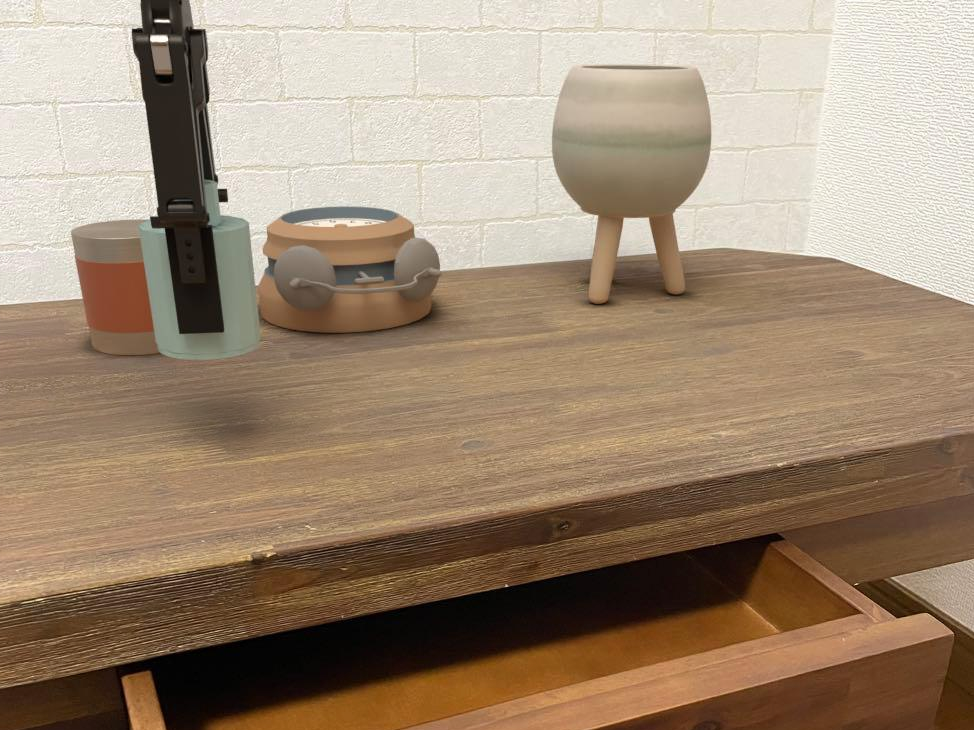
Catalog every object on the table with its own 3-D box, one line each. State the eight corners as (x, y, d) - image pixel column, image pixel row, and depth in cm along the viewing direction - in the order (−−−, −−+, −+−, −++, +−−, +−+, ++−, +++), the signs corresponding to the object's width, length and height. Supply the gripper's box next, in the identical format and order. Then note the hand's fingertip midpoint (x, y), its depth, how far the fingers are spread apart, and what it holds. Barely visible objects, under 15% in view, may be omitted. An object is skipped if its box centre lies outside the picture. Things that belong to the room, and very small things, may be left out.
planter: (572, 315, 104) (577, 71, 94) (535, 279, 118) (536, 63, 108) (722, 307, 108) (743, 70, 97) (669, 273, 121) (682, 63, 111)
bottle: (144, 360, 67) (118, 190, 62) (173, 331, 73) (151, 174, 68) (248, 361, 67) (230, 191, 62) (268, 332, 73) (253, 176, 68)
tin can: (76, 355, 91) (53, 238, 86) (110, 327, 99) (91, 219, 94) (182, 355, 91) (164, 238, 86) (208, 327, 99) (193, 219, 95)
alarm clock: (401, 198, 111) (471, 237, 92) (405, 284, 115) (473, 339, 96) (237, 207, 105) (277, 251, 86) (248, 297, 109) (288, 359, 90)
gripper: (213, -98, 51) (261, 357, 61) (231, -72, 68) (266, 281, 78) (49, -105, 49) (126, 363, 60) (110, -77, 67) (161, 284, 77)
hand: (205, 316), depth 69 cm, fingers closed on bottle, 7 cm apart
